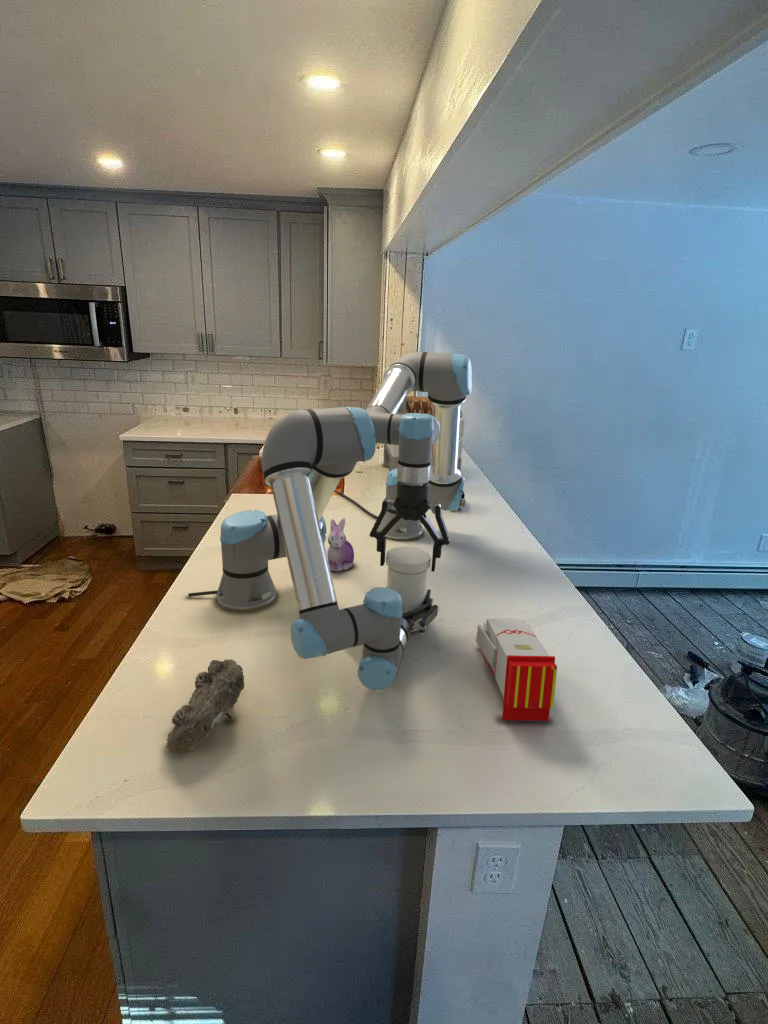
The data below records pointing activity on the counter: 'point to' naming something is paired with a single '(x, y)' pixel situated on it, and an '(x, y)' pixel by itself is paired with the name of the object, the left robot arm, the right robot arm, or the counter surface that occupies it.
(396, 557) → the lid
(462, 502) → the figurine character
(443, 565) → the counter surface
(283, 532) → the left robot arm
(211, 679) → the fossil
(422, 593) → the jar
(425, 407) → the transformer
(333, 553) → the figurine
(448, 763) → the counter surface
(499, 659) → the toy
